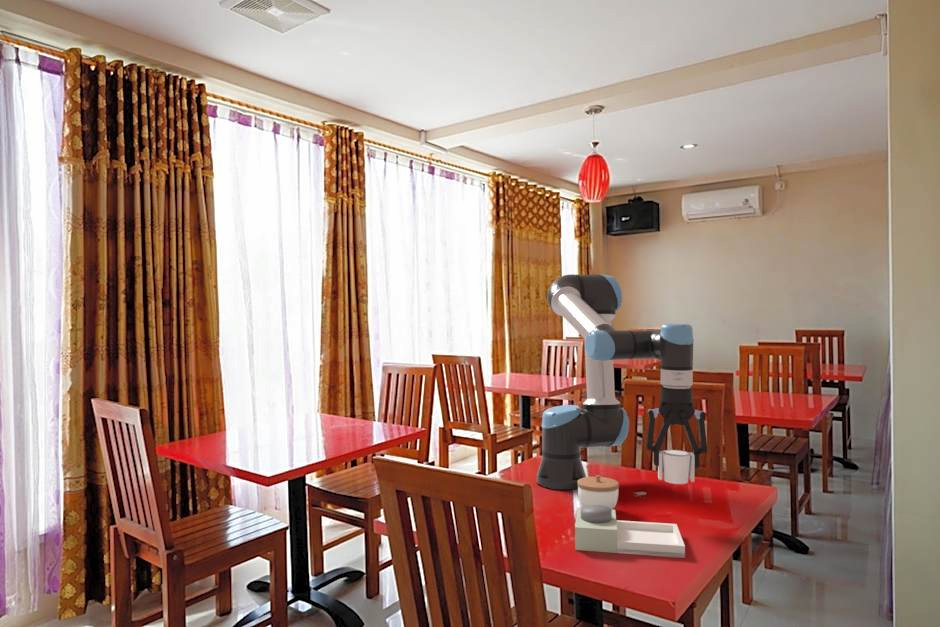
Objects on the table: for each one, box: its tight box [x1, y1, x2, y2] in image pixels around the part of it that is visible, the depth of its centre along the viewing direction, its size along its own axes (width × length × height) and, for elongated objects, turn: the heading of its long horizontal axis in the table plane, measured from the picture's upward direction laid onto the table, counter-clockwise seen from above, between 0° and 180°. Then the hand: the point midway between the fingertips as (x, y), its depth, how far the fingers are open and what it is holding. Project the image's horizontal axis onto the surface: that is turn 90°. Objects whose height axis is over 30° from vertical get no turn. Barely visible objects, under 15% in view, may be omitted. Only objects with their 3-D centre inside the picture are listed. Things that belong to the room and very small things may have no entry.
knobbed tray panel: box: [574, 505, 686, 559], centre depth 139 cm, size 14×23×7 cm, turn 78°
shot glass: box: [661, 449, 691, 485], centre depth 150 cm, size 7×7×7 cm
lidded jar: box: [577, 474, 620, 510], centre depth 161 cm, size 11×11×9 cm
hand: (675, 479), depth 150 cm, fingers closed on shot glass, 7 cm apart
